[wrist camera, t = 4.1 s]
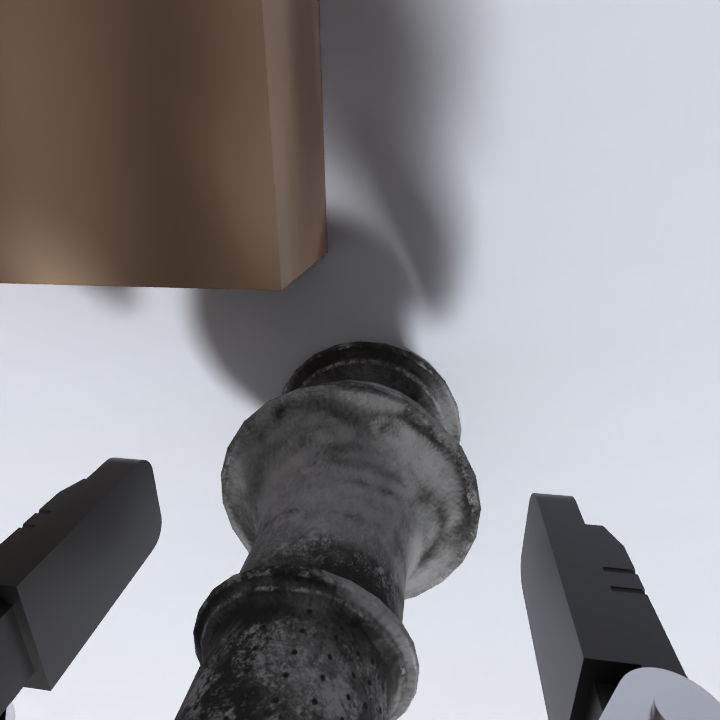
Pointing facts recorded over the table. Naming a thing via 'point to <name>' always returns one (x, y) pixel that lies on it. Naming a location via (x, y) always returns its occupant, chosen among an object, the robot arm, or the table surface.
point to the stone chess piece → (334, 541)
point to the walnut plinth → (161, 143)
